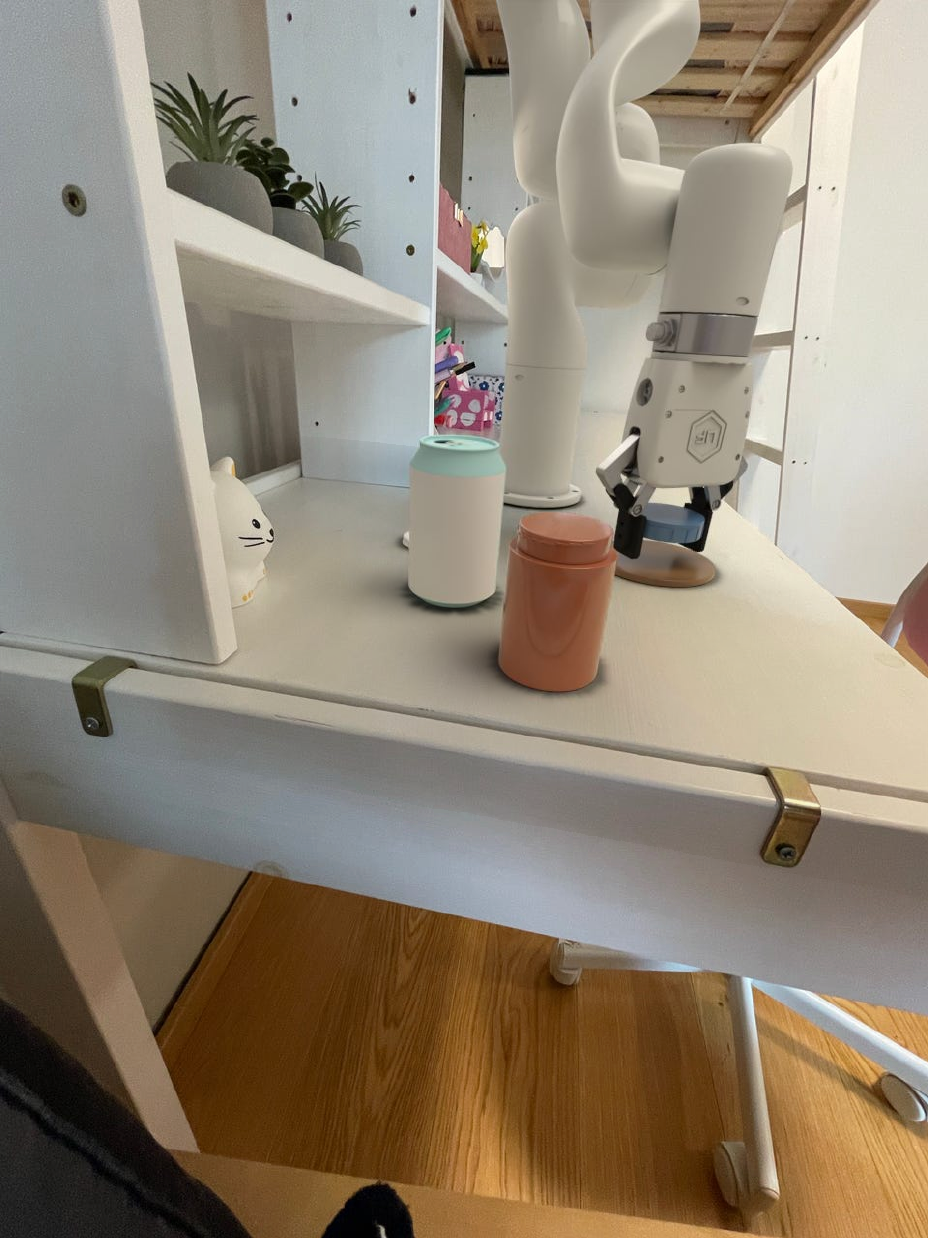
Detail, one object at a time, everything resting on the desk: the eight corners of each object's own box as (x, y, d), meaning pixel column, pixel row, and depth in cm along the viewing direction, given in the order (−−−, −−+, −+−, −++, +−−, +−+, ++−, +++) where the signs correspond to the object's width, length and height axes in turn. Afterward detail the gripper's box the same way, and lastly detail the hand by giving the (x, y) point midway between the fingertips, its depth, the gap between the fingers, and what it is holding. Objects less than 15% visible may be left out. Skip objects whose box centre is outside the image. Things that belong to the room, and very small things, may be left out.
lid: (714, 544, 52) (719, 525, 51) (641, 542, 51) (645, 524, 50) (680, 520, 58) (684, 503, 57) (614, 518, 57) (617, 501, 56)
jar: (484, 645, 40) (495, 511, 36) (569, 636, 42) (589, 507, 38) (520, 697, 34) (537, 546, 30) (615, 684, 36) (644, 540, 32)
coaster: (575, 547, 59) (576, 542, 59) (668, 542, 62) (669, 536, 62) (634, 591, 50) (636, 585, 49) (740, 582, 53) (742, 576, 53)
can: (399, 606, 45) (400, 444, 39) (417, 572, 51) (420, 429, 45) (491, 616, 44) (505, 453, 39) (498, 580, 50) (511, 436, 45)
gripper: (643, 337, 41) (603, 574, 49) (817, 348, 47) (757, 556, 55) (585, 335, 47) (558, 545, 55) (746, 344, 54) (701, 532, 61)
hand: (658, 549), depth 55 cm, fingers closed on lid, 6 cm apart
